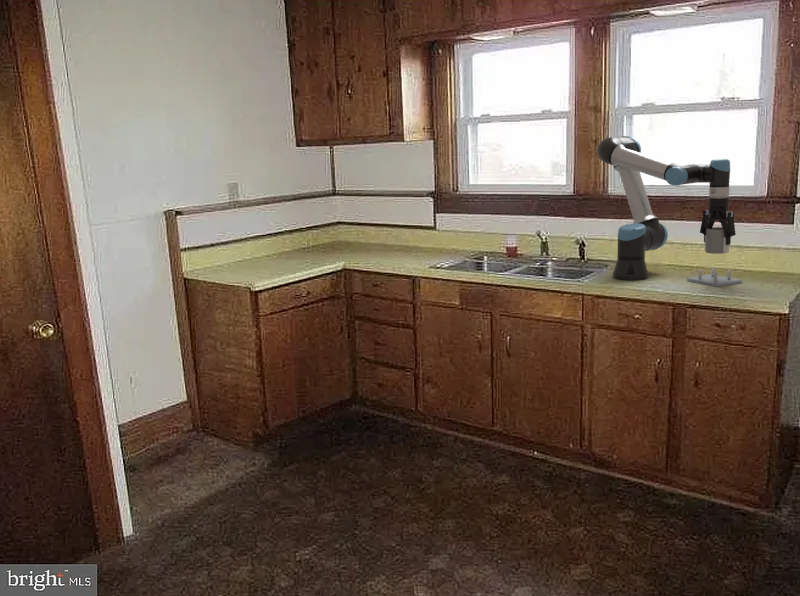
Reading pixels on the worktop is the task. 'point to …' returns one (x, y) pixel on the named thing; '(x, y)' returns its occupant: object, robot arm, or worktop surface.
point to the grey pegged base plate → (714, 279)
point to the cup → (714, 240)
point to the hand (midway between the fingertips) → (716, 251)
